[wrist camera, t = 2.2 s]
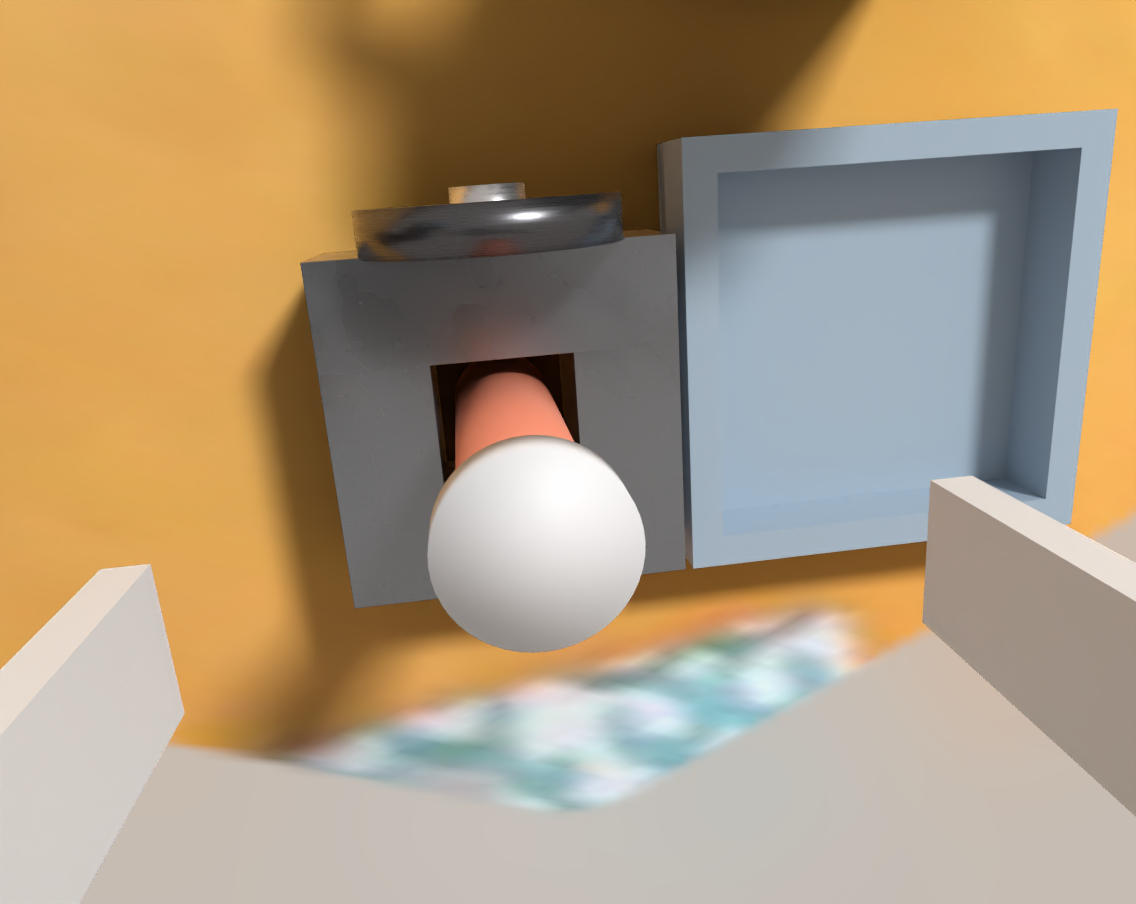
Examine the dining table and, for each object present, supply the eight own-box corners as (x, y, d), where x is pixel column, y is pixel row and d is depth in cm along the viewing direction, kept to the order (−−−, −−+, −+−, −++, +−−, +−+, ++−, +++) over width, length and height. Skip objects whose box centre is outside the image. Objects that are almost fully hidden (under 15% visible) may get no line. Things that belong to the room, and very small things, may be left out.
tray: (670, 533, 30) (693, 568, 27) (657, 143, 26) (681, 137, 23) (1014, 494, 31) (1070, 524, 28) (1049, 118, 28) (1117, 108, 25)
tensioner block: (368, 554, 29) (339, 671, 22) (314, 198, 25) (260, 198, 18) (656, 521, 30) (719, 623, 23) (642, 175, 26) (711, 167, 19)
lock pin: (446, 461, 28) (440, 665, 16) (432, 342, 27) (414, 462, 15) (565, 449, 29) (649, 638, 16) (557, 331, 27) (640, 439, 15)
